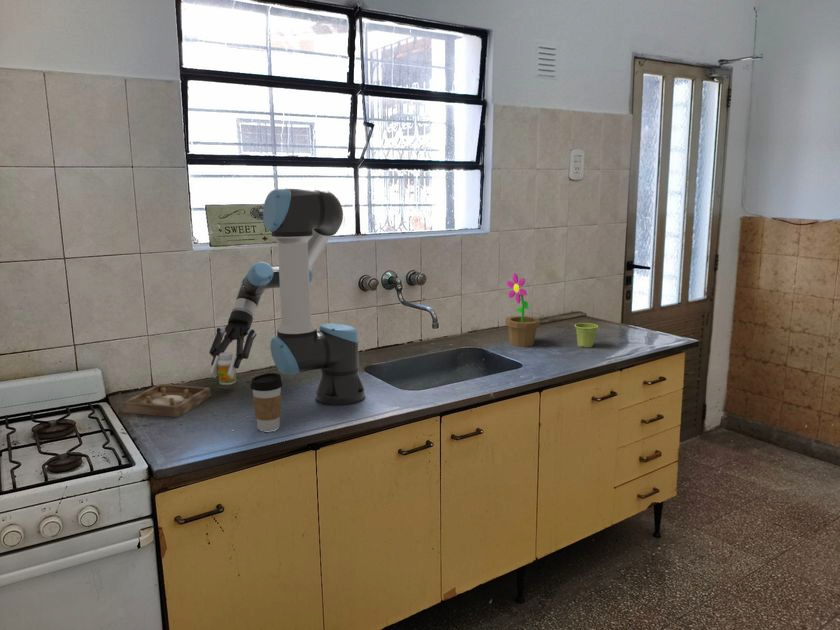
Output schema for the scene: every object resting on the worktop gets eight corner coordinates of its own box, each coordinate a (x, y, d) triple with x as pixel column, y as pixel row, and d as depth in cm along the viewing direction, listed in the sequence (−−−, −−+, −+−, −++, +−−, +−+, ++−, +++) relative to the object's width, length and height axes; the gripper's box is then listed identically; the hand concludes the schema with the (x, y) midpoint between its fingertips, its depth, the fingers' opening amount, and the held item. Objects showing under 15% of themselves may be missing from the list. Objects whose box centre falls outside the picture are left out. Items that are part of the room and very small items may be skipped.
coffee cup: (289, 430, 177) (287, 377, 174) (259, 437, 172) (257, 383, 169) (277, 420, 184) (274, 370, 181) (248, 427, 179) (245, 375, 176)
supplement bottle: (215, 382, 209) (213, 353, 207) (230, 379, 213) (228, 350, 211) (225, 386, 205) (222, 356, 203) (239, 382, 209) (237, 353, 207)
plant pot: (580, 349, 260) (581, 328, 258) (569, 343, 269) (570, 323, 267) (601, 348, 262) (602, 327, 260) (589, 342, 271) (591, 322, 269)
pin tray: (159, 392, 207) (158, 382, 206) (210, 396, 203) (209, 385, 203) (123, 412, 190) (121, 400, 189) (178, 417, 186) (177, 405, 185)
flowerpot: (497, 342, 271) (499, 271, 264) (523, 337, 278) (525, 268, 272) (520, 349, 259) (523, 276, 253) (546, 345, 267) (549, 273, 260)
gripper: (271, 322, 218) (252, 383, 206) (222, 320, 222) (200, 379, 210) (263, 309, 212) (243, 372, 200) (213, 307, 216) (190, 368, 204)
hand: (221, 375), depth 205 cm, fingers closed on supplement bottle, 5 cm apart
